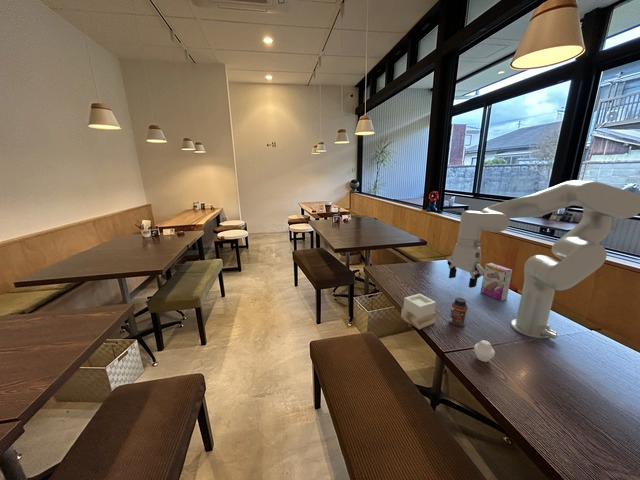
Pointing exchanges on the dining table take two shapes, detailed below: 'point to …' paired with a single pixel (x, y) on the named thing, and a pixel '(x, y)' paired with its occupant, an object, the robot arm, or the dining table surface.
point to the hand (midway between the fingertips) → (461, 282)
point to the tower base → (418, 319)
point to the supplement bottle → (458, 312)
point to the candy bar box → (496, 281)
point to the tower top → (419, 305)
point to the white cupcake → (484, 351)
